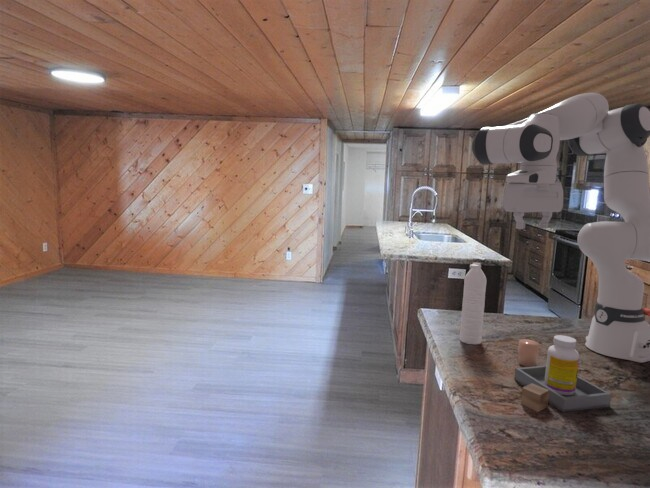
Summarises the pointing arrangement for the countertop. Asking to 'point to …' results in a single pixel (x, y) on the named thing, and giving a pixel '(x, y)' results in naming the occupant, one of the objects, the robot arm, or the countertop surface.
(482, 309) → the water bottle
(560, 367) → the supplement bottle
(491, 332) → the countertop surface
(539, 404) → the walnut block
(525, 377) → the tray
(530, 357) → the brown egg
